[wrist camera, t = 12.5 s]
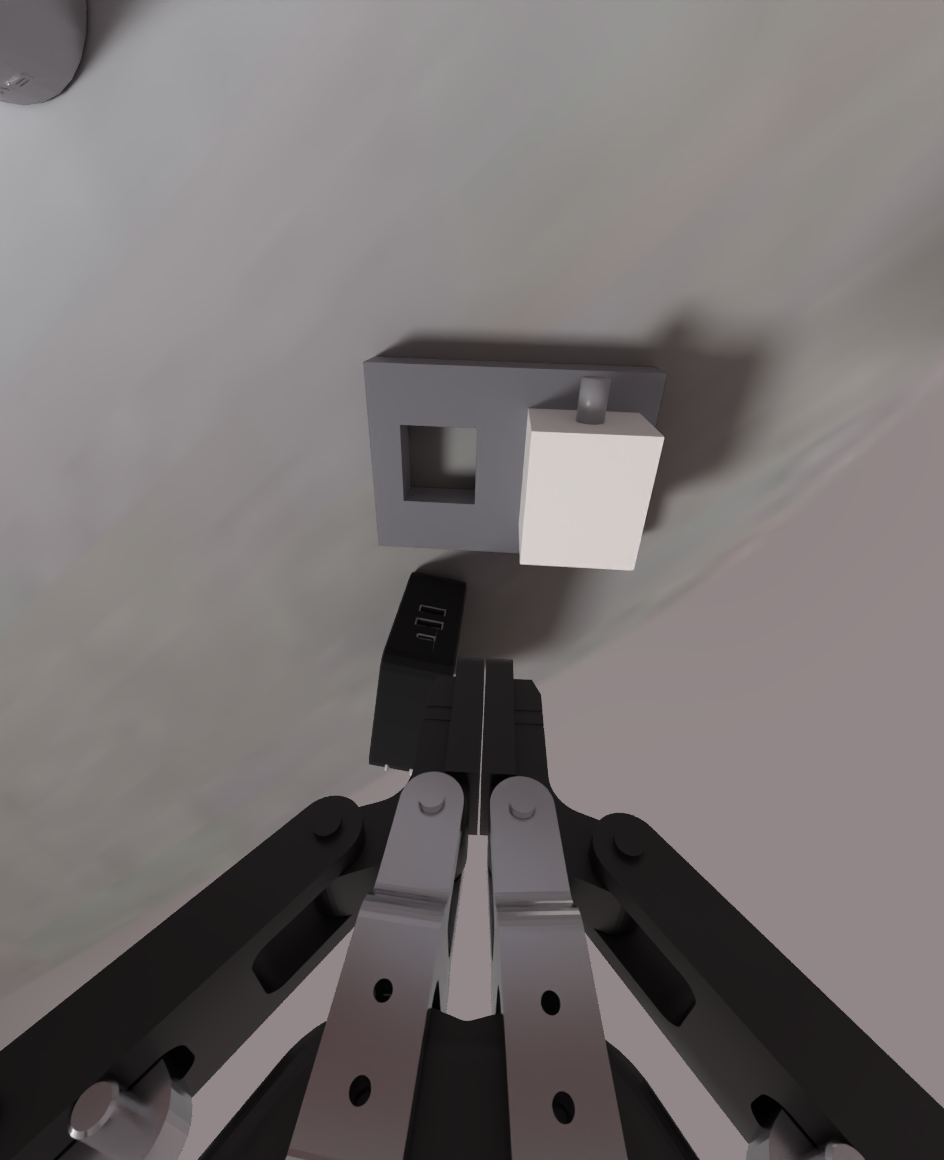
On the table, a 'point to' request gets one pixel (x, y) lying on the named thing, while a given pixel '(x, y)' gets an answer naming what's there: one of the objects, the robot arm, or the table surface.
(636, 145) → the table surface
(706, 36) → the table surface
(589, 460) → the plug
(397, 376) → the socket plate
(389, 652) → the electronic device
